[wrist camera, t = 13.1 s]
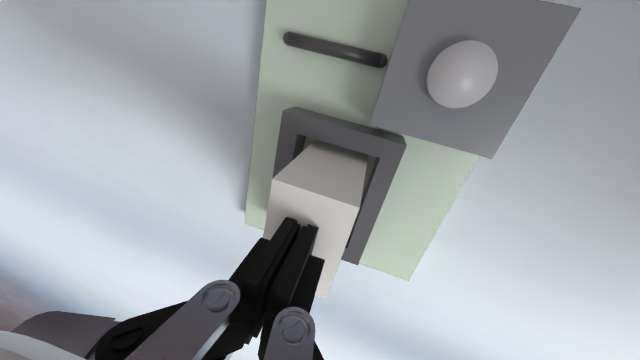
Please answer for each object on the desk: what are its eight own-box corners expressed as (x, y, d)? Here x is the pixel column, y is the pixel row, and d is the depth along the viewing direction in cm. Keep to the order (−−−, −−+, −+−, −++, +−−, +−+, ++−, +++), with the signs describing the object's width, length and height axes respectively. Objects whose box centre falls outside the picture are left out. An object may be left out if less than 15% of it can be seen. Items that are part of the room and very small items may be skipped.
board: (541, 19, 13) (616, -9, 9) (406, 268, 22) (413, 312, 18) (280, -34, 15) (243, -78, 11) (251, 215, 24) (225, 243, 19)
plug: (368, 154, 17) (359, 207, 10) (342, 228, 20) (321, 311, 13) (316, 138, 17) (272, 178, 10) (299, 213, 20) (255, 285, 13)
